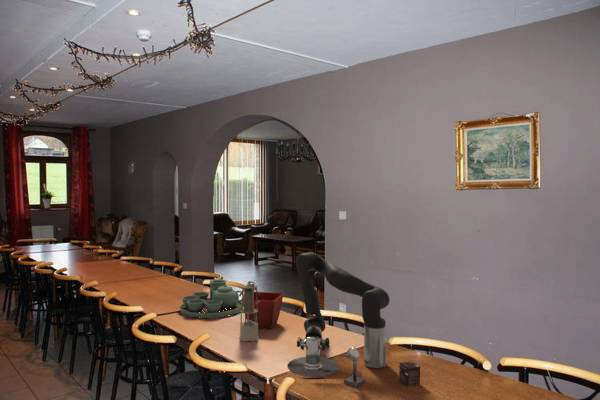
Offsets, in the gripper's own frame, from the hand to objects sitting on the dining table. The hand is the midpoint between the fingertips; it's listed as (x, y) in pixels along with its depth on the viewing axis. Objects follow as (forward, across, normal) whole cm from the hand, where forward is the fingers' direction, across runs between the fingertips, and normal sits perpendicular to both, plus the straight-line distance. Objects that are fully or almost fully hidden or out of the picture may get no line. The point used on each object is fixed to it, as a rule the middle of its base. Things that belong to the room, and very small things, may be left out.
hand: (312, 348), depth 194 cm
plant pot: (-64, -30, +10) cm, 71 cm away
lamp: (-39, -33, +10) cm, 52 cm away
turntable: (-2, 0, +10) cm, 10 cm away
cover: (-2, 0, +8) cm, 8 cm away
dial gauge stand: (+10, +16, +10) cm, 21 cm away
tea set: (-94, -67, +10) cm, 116 cm away
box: (+9, +39, +10) cm, 41 cm away
